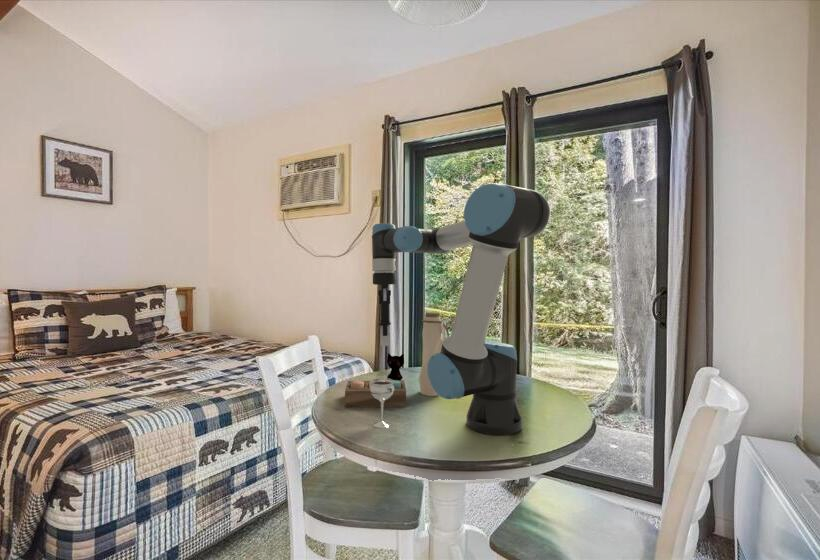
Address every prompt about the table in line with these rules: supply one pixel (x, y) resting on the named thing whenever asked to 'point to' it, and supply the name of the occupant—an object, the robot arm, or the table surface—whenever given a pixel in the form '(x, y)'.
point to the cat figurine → (395, 366)
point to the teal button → (397, 384)
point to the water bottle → (431, 347)
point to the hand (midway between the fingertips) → (385, 345)
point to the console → (366, 399)
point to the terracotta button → (357, 384)
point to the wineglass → (382, 396)
